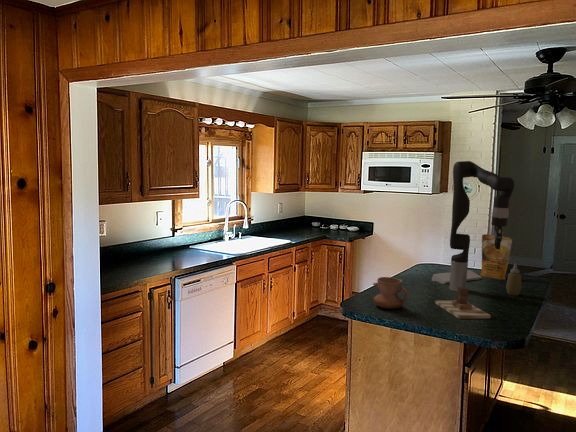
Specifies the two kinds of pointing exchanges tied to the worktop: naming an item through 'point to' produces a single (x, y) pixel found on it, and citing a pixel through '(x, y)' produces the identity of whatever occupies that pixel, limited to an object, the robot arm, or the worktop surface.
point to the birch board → (462, 314)
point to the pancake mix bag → (495, 257)
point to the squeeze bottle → (514, 281)
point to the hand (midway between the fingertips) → (497, 247)
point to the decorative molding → (445, 277)
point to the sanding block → (462, 299)
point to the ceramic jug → (389, 293)
